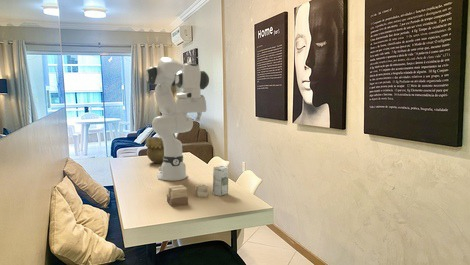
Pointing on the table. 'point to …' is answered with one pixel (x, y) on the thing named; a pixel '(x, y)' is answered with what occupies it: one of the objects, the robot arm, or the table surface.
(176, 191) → the oak slab
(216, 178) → the syrup box
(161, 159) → the clay pot
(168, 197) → the walnut slab
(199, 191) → the maple cube
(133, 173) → the table surface
